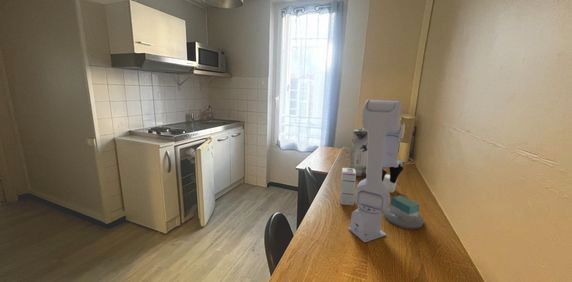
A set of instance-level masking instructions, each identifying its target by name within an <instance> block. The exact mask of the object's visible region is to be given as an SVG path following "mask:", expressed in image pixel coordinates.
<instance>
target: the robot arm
mask: <svg viewBox="0 0 572 282" xmlns="http://www.w3.org/2000/svg"><path fill="white" fill-rule="evenodd" d="M402 105H403V104H402V102H401V101H400V100H381V99H380V100H379V99H370V98H369V99H366V101H365V102H364V104H363V107H362V116H361V117H362V118H361V121H362V122H361V124H362V128H364V129H366V130H367V133H368V149H367V165H366V172H365V174H366V175H365V178H364V179H362V180H360V181H359V182H358V183H357V185H356V188H355V199H354V202H355V203H356V204H358V205H357V209H355V210H353V211H352V212H351V216H350V226H349V227H348V230H349V231H351V233H352V234H354V235H355V236H356V237H358V238H359V239H360V240H361V241H363V243H367V242H370V241H373V240H376V239H379V238H383V237H385V236H387V234H386V232H384V231H383V230H382V221H383V214H384V213H383V212H385V211H386V210H387V209H388V208H389V207H390V206H389V205H390V202H391V194H390V193H391V192H390V190H389V187H388V186H387V185H386V184H385V183H384V182H383V180H384V177H385V175H386V174H388V171H386V170H385V169H387V168H388V169H389V174H390V182H392V183H395V182H396V180H397V181H398V179H397V178H399V175H401V172H403V171H404V167H403V164H404V161H403V160H399V159H398V154H399V148H400V142H401V140H402V139H401V138H402V135H403V130H404V125H403V124H401V122H400V119H401V114H402Z"/></svg>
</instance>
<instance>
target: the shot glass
mask: <svg viewBox="0 0 572 282" xmlns="http://www.w3.org/2000/svg"><path fill="white" fill-rule="evenodd" d="M398 178H399V177H398ZM398 178H397V180H396V182H395V183H392V182H390V173H389V174H388V173H386V175H385V177H384V180H383V182H384V183H385V184H386V185H387V186H388V187H389V190H390V193H395V191H396V187H397V184H398Z"/></svg>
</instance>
